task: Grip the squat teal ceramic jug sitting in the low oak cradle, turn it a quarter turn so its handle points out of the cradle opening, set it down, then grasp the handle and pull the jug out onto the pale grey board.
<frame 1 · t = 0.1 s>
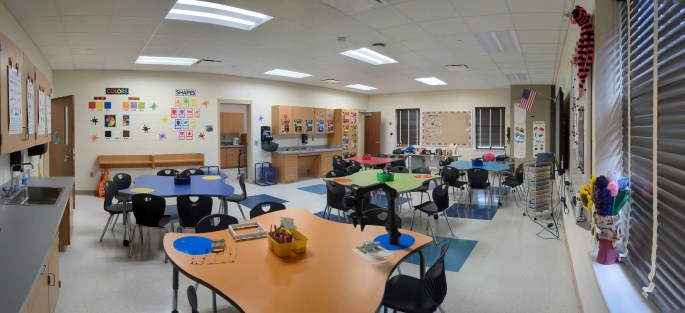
hand: (358, 229, 235), 14 cm above the table, fingers open, 9 cm apart
jug: (368, 249, 237), point 1 cm above the table, touching board
train corral: (247, 233, 280), on the table
cradle: (368, 250, 237), resting on board
pile of dominoes: (214, 255, 234), on the table
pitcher: (288, 237, 268), on the table
board: (372, 253, 233), on the table
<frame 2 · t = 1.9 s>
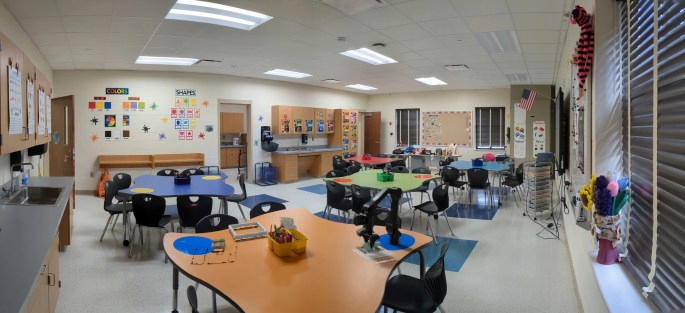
hand: (368, 246, 236), 3 cm above the table, fingers closed on jug, 6 cm apart
jug: (368, 249, 237), point 1 cm above the table, touching board, gripper
everything else where it was.
when the fingers open (3 cm above the table, at t = 4.5 s): jug stays where it is, resting on board.
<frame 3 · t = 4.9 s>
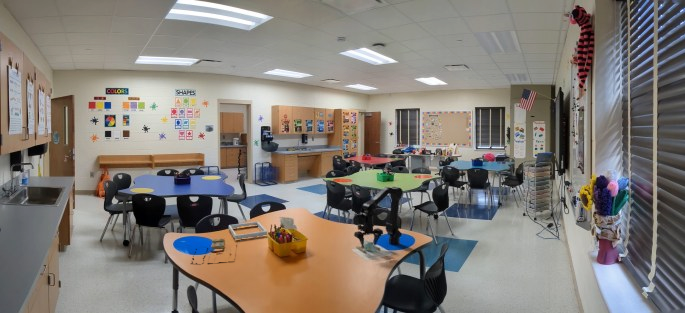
hand: (368, 246, 236), 3 cm above the table, fingers open, 9 cm apart
jug: (368, 249, 237), point 1 cm above the table, touching board
everything else where it was.
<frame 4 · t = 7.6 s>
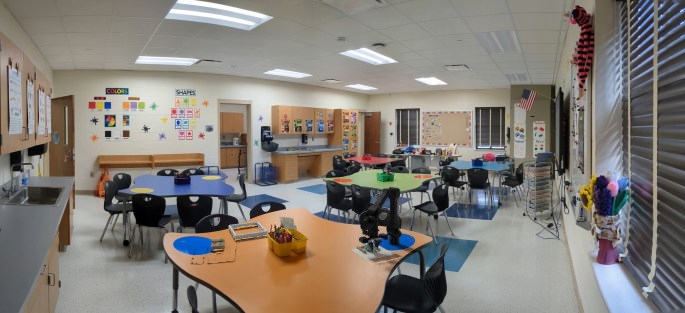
hand: (373, 251, 231), 2 cm above the table, fingers closed on jug, 2 cm apart
jug: (368, 249, 237), point 1 cm above the table, touching board, gripper
everything else where it was.
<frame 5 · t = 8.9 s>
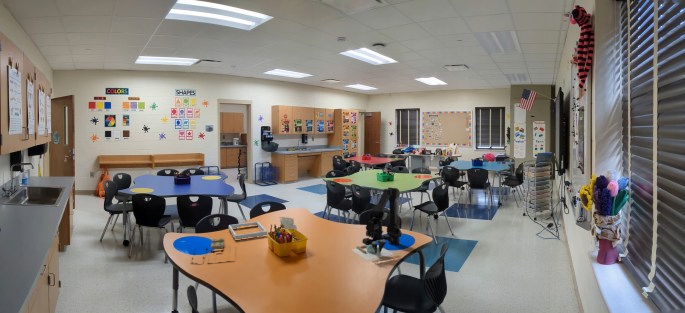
hand: (377, 253, 226), 2 cm above the table, fingers closed on jug, 2 cm apart
jug: (371, 251, 233), point 1 cm above the table, touching gripper
everything else where it was.
when the fingers open (2 cm above the table, at t = 9.9 s): jug stays where it is, resting on board.
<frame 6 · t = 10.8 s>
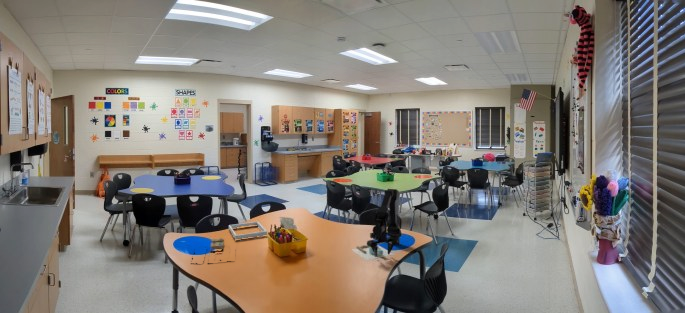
hand: (382, 255, 222), 2 cm above the table, fingers open, 9 cm apart
jug: (373, 253, 230), point 1 cm above the table, touching board
everything else where it was.
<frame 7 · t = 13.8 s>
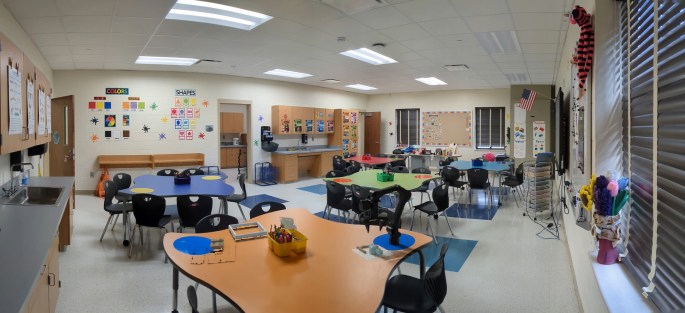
hand: (374, 232, 241), 11 cm above the table, fingers open, 9 cm apart
nothing on the table moved.
at the end: jug inside the target area (3.9 cm from its centre), point 0.8 cm above the table; jug tilted 0°; the gripper is holding nothing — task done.
